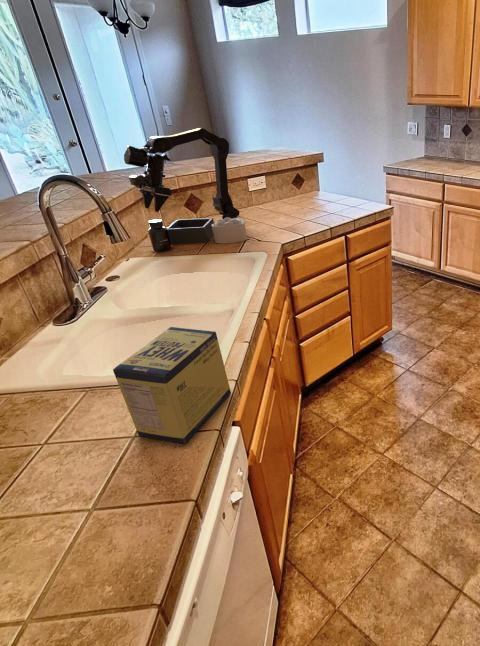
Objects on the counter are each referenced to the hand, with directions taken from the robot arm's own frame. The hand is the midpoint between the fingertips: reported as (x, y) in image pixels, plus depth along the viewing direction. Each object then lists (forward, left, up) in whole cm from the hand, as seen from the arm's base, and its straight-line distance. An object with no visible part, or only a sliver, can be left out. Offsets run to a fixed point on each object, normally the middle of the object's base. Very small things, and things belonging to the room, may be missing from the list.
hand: (151, 210), depth 171 cm
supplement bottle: (-2, +4, -16) cm, 16 cm away
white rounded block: (-27, -5, -16) cm, 31 cm away
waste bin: (-10, -10, -15) cm, 21 cm away
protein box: (-43, +110, -16) cm, 119 cm away
